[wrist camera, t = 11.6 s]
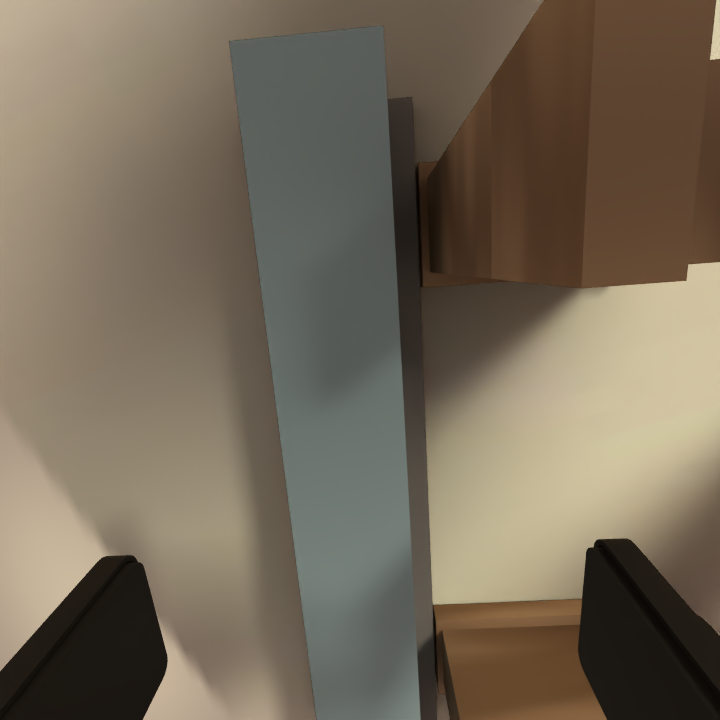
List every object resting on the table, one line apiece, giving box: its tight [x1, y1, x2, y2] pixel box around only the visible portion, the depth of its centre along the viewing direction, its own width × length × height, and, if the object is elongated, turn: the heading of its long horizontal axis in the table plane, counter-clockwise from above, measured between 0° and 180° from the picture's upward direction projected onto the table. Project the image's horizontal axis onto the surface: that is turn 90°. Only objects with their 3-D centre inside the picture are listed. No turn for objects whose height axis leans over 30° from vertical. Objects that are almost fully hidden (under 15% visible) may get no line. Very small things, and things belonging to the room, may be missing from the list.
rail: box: [229, 26, 421, 720], centre depth 14 cm, size 26×4×4 cm, turn 4°
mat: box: [311, 97, 437, 720], centre depth 16 cm, size 26×6×1 cm, turn 4°
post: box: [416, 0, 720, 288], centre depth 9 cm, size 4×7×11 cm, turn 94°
